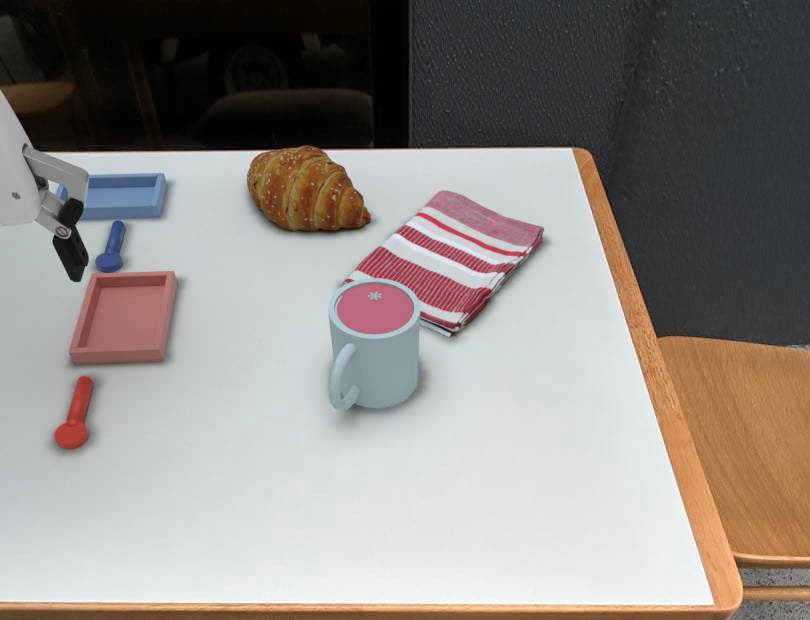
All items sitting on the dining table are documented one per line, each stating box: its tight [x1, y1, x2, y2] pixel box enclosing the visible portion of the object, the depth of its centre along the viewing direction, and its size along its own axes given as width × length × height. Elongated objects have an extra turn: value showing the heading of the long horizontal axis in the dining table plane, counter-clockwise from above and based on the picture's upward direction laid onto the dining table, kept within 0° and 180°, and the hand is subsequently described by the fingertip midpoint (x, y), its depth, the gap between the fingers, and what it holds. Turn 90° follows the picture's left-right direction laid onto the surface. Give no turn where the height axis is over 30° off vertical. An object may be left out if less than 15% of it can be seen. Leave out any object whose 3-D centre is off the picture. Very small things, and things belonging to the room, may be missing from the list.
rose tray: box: [68, 270, 179, 365], centre depth 79 cm, size 14×10×2 cm
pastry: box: [246, 144, 371, 232], centre depth 89 cm, size 21×13×8 cm, turn 53°
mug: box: [327, 278, 421, 412], centre depth 70 cm, size 14×9×10 cm
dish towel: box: [341, 189, 545, 339], centre depth 85 cm, size 17×23×3 cm
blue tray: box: [51, 172, 168, 221], centre depth 92 cm, size 14×8×2 cm, turn 94°
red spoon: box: [53, 375, 94, 450], centre depth 71 cm, size 10×3×2 cm, turn 4°
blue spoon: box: [94, 219, 126, 273], centre depth 86 cm, size 10×3×2 cm, turn 4°
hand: (23, 274), depth 57 cm, fingers open, 9 cm apart
